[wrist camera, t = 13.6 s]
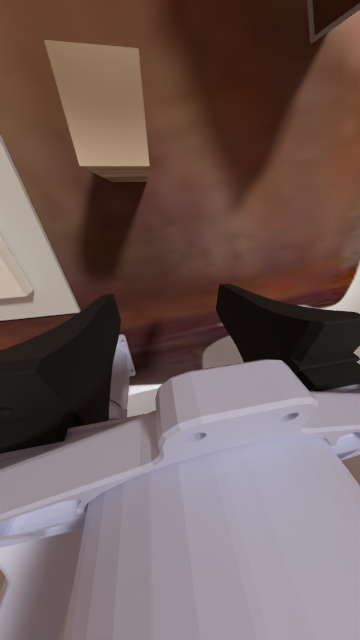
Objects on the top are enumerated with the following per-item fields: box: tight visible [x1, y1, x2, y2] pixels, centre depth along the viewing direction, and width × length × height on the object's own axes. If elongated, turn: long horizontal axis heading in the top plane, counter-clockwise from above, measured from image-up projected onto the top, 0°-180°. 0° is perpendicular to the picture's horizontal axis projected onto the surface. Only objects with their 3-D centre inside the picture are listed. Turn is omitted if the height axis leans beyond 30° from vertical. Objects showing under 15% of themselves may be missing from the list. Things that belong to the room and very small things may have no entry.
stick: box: [44, 40, 149, 182], centre depth 10 cm, size 3×3×9 cm
